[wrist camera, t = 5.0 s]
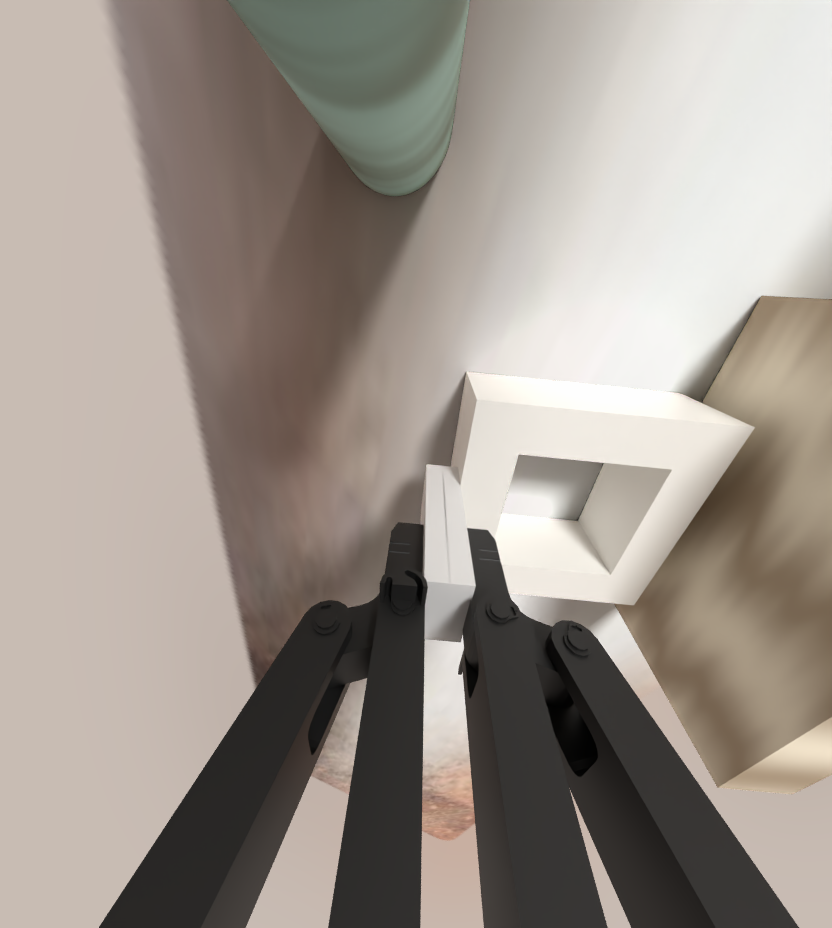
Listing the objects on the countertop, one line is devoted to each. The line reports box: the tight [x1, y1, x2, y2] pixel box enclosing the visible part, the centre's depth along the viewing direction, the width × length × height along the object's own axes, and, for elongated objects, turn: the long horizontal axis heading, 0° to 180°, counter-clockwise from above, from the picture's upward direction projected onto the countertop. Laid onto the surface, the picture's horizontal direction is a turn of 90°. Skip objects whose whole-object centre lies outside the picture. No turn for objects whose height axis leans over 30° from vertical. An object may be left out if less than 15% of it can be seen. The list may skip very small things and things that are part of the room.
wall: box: [615, 296, 832, 794], centre depth 13 cm, size 17×3×10 cm, turn 175°
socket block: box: [451, 372, 755, 605], centre depth 16 cm, size 10×10×4 cm
